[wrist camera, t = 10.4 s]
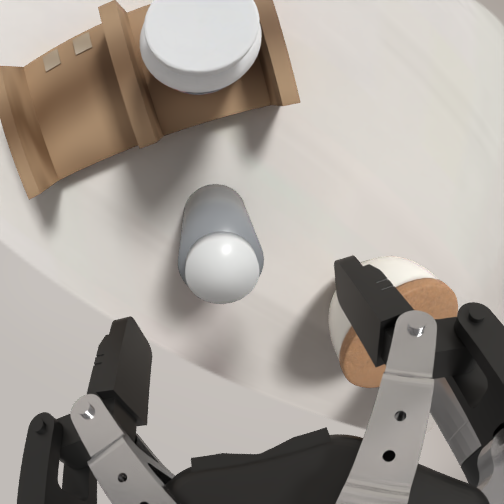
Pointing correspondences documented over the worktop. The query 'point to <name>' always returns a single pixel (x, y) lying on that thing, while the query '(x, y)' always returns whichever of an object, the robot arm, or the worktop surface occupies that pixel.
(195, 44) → the pill bottle
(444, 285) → the lidded jar
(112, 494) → the robot arm
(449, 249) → the worktop surface
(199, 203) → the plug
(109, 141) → the rack
